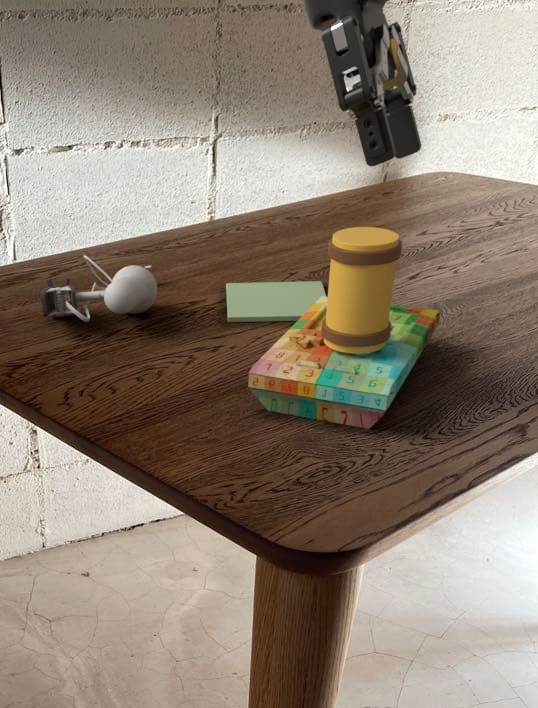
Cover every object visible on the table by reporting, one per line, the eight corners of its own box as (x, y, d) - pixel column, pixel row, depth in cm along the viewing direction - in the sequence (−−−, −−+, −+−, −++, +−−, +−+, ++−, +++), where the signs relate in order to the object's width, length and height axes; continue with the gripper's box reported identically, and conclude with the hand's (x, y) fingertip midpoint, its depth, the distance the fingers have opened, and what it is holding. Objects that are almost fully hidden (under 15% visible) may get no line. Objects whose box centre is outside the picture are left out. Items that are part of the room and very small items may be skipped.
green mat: (321, 286, 101) (321, 280, 101) (332, 320, 92) (332, 315, 92) (226, 288, 102) (226, 283, 102) (227, 322, 93) (227, 317, 93)
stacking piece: (383, 328, 77) (396, 224, 72) (394, 354, 72) (409, 245, 67) (317, 329, 78) (325, 226, 73) (324, 355, 73) (333, 247, 68)
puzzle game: (248, 362, 72) (321, 287, 87) (246, 413, 75) (318, 332, 90) (389, 385, 68) (442, 301, 82) (382, 438, 70) (434, 348, 85)
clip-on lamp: (78, 309, 107) (34, 331, 91) (71, 255, 105) (25, 267, 88) (172, 301, 104) (145, 322, 88) (168, 245, 102) (138, 257, 86)
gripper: (361, -95, 60) (421, 146, 64) (411, -69, 71) (460, 135, 75) (263, -38, 64) (326, 184, 68) (325, -22, 75) (376, 169, 79)
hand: (396, 158), depth 72 cm, fingers open, 8 cm apart
